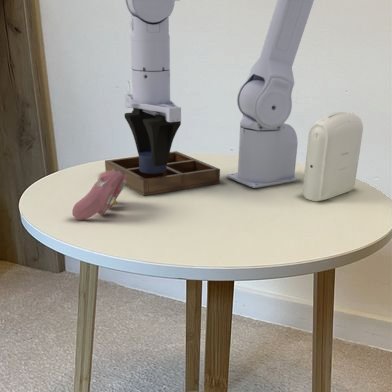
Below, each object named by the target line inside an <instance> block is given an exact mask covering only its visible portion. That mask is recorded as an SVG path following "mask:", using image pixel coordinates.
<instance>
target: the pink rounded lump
mask: <svg viewBox="0 0 392 392" xmlns="http://www.w3.org/2000/svg"><path fill="white" fill-rule="evenodd" d="M126 181H127V176H126V175H124V173H122V172H119V171H118V172H116V171H115V170H114V169H113V171H106V170H105V171H103V172H101V173H100V174H99V176H98V178H97V180H96V182H95V183H94V184H93V186H92V187H91V189H90V191H89V192H88V193H87V194H86V195H85V196H83V197H82V198H81V199H80V200H78V201H77V202H76V203H75V204H74V206H73V208H72V212H71V214H72V216H73V217H74V218H75V219H76V220H79V221H80V220H88V219H89V218H92V217H93V216H94V215H96V214H99V215H100V216H104V215H106V214H105V213H106V212H107V210H108V209H109V210H110V209H112V207H113V206H115V205H116V204H117V199H118V197H119V196H120V194H121V193H122V191H123V190H124V188H125V186H126V185H125V183H126Z"/></svg>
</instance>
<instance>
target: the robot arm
mask: <svg viewBox="0 0 392 392" xmlns="http://www.w3.org/2000/svg"><path fill="white" fill-rule="evenodd" d="M175 1H176V2H180V1H181V0H125V6H126V8H127V10H128V12H129V13H130V29H131V33H130V55H131V57H130V58H131V61H130V62H131V80H132V81H131V83H132V93H129V94H124V104H125V108H127V109H132V110H131V112H125V113H123V114H124V119H125V120H126V122H127V124H128V126H129V129H130V130H131V133H132V136H133V140H134V143H135V147H136V151H137V154H138V155H137V156H139V153H141V152H145V151H151V153H152V160H153V164H154V166H162V165H167V162H168V158H169V153H170V152H171V148H172V146H173V142H174V139H175V136H176V134H177V132H178V130H179V128H180V126H181V125H182V107H181V106H178V105H177V104H175V102H173V101H172V100H171V59H170V58H171V53H170V52H171V51H170V50H171V49H170V48H171V44H170V43H171V41H170V40H171V37H170V29H169V28H170V27H169V26H170V21H169V19H170V18H169V17H171V15H172V13H173V11H174V8H175ZM314 1H315V0H276V2H275V6H274V10H273V13H272V16H271V19H270V23H269V25H268V29H267V33H266V35H265V39H264V43H263V46H262V50H261V52H260V55H259V58H258V59H257V60H256V62H255V63H254V64H253V65H252V66H251V68H250V71H249V73H248V76H247V79H246V80H245V81H244V82H243V83H242V85H241V86H240V88H239V90H238V92H237V96H236V104H237V105H236V106H237V108H238V110H239V112H240V113H241V114H242V118H241V120H240V122H239V123H240V124H239V140H238V141H239V144H238V160H237V161H238V162H237V164H238V165H237V172H234V173H228V174H226V177H227V178H228V179H231V180H234V182H235V181H236V182H238V183H240V184H243V185H244V186H247V187H250V188H252V189H258V188H263V187H269V186H275V185H280V184H286V183H287V184H288V183H292V182H297V181H298V177H297V176H296V175H295V174H296V165H297V154H298V153H297V152H298V136H297V135H298V134H297V132H296V130H295V129H294V127H293V126H292V125H291V124H288V123H286V122H287V120H288V119H289V118H290V115H291V113H292V108H293V102H292V101H293V100H292V93H293V89H294V86H295V77H294V71H293V65H294V63H295V59H296V56H297V53H298V50H299V47H300V43H301V41H302V38H303V35H304V32H305V28H306V26H307V23H308V20H309V16H310V13H311V11H312V8H313V4H314Z"/></svg>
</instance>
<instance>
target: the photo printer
mask: <svg viewBox="0 0 392 392" xmlns="http://www.w3.org/2000/svg"><path fill="white" fill-rule="evenodd" d="M363 125H364V124H363V121H362V119H361V118H360V116H358V115H356V114H354V113H351V112H347V111H346V112H345V111H337V112H333V113H332V112H331V113H329V114H327V115H325V116H323V117H321V118H319V119H318V120H317V121H316V122H314V123H313V124H312V126H311V127H310V128H309V130H308V131H309V132H308V135H307V146H306V155H305V167H304V174H303V175H304V176H303V184H302V195H303V197H304V198H305V199H306V200H309V201H313V202H320V201H324V200H328V199H331V198H334V197H337V196H340V195H343V194H345V193H348V192H351V191H353V190H354V189H355V185H356V179H357V173H358V172H357V171H358V166H359V160H360V159H359V158H360V152H361V145H362V138H363V131H364V126H363Z"/></svg>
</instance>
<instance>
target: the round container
mask: <svg viewBox="0 0 392 392" xmlns="http://www.w3.org/2000/svg"><path fill="white" fill-rule="evenodd" d="M138 156H139V171H140V172H142V173H147V174H159V173H163V172H165V171H166V165H162V166H154V164H153V160H152V153H151V151H145V152H141V153H139V155H138Z"/></svg>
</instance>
